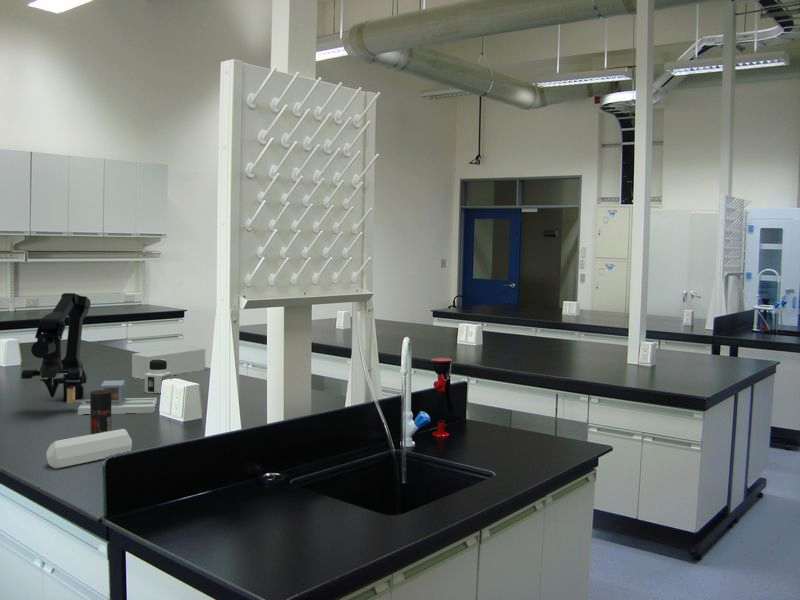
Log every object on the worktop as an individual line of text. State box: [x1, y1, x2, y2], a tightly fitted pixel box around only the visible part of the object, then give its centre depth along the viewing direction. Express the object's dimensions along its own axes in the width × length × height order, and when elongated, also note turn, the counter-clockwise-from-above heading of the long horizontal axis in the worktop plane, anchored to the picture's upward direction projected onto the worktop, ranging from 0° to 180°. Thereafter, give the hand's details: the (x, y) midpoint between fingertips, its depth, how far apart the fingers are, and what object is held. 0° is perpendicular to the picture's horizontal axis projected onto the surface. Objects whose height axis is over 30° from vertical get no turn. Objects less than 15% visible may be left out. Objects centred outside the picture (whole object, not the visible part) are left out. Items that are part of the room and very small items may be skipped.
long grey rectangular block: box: [131, 346, 206, 380], centre depth 328 cm, size 32×11×11 cm, turn 146°
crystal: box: [45, 428, 133, 469], centre depth 204 cm, size 7×7×24 cm
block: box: [105, 388, 119, 401], centre depth 260 cm, size 4×4×4 cm
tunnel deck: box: [77, 379, 158, 416], centre depth 261 cm, size 25×14×10 cm, turn 105°
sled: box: [66, 386, 127, 404], centre depth 259 cm, size 19×5×5 cm, turn 105°
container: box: [144, 359, 172, 395], centre depth 291 cm, size 8×8×13 cm
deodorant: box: [89, 389, 112, 435], centre depth 222 cm, size 6×6×15 cm
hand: (52, 397), depth 255 cm, fingers closed
